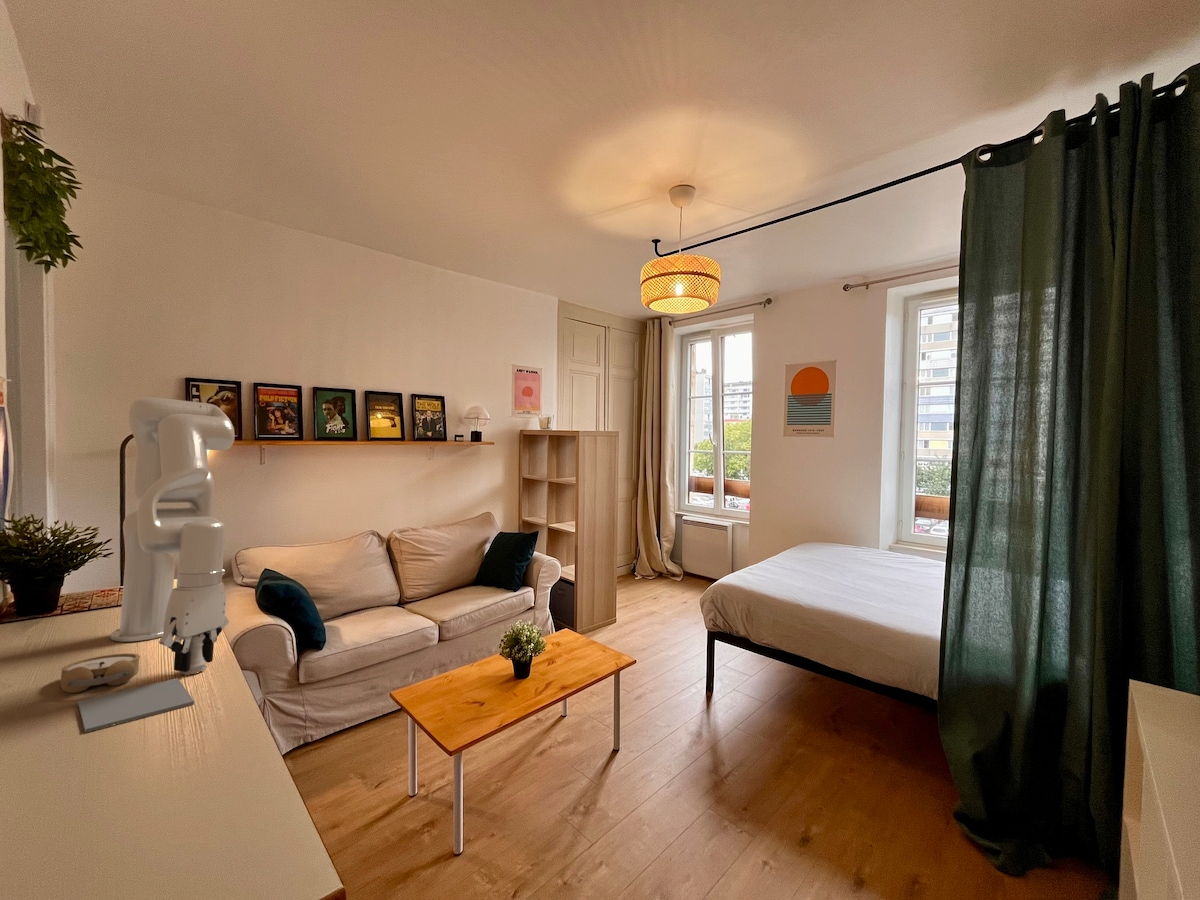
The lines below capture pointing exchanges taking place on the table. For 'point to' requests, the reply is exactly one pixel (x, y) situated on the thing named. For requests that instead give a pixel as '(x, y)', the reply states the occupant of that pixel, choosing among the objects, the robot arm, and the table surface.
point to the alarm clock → (99, 671)
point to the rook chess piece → (196, 655)
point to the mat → (133, 704)
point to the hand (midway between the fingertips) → (193, 665)
